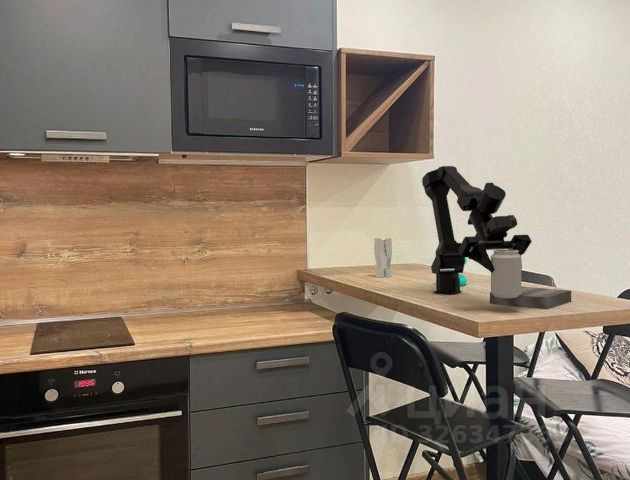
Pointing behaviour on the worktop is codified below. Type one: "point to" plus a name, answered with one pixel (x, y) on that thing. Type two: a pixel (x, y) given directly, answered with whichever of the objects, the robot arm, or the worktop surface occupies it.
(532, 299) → the plinth
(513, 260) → the can
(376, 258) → the white piece
